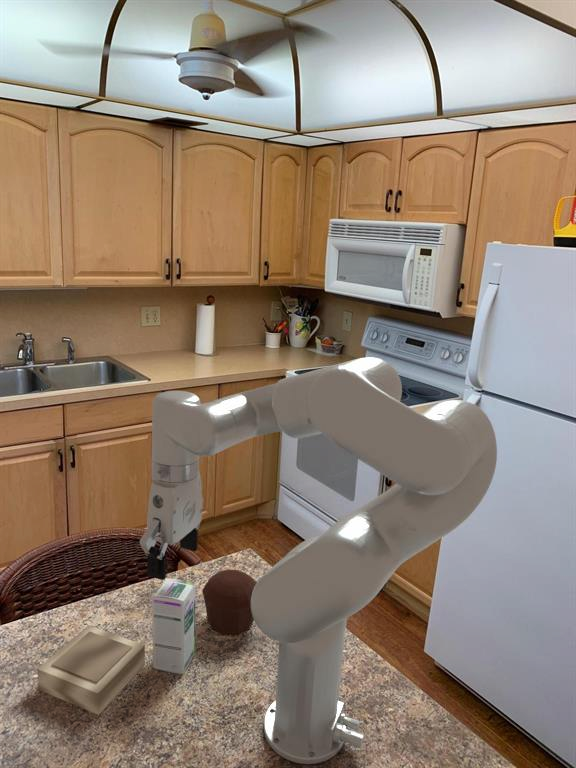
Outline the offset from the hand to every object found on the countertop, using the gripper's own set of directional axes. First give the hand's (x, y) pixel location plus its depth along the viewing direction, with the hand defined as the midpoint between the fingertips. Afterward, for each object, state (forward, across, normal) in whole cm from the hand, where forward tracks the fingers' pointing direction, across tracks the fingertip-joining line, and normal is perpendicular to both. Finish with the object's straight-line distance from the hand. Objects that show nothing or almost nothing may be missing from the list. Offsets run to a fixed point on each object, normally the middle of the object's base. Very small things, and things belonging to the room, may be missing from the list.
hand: (173, 562), depth 97 cm
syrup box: (+20, 0, -1) cm, 20 cm away
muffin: (+20, +14, -5) cm, 24 cm away
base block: (+19, -9, +9) cm, 23 cm away
